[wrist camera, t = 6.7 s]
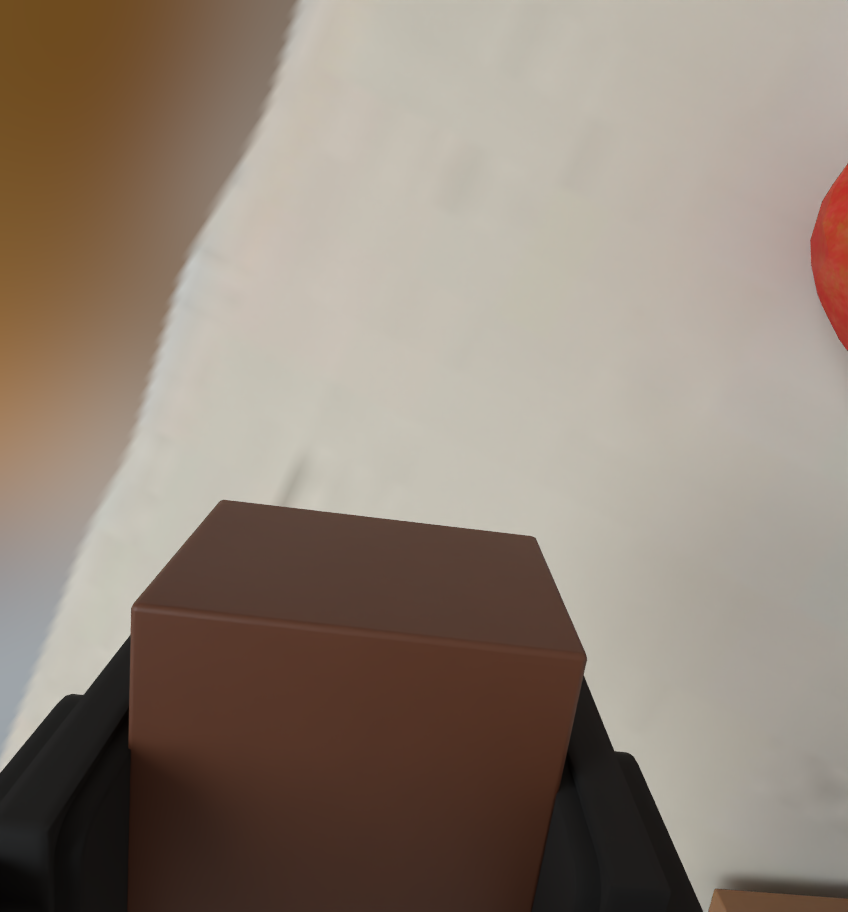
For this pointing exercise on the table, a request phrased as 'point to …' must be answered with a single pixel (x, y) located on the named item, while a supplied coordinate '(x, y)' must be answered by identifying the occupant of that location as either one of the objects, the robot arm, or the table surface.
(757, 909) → the drawer
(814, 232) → the apple
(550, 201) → the table surface
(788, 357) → the table surface
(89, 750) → the robot arm
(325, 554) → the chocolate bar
